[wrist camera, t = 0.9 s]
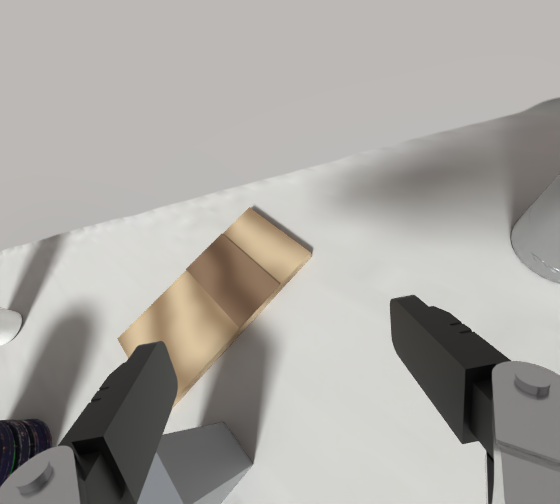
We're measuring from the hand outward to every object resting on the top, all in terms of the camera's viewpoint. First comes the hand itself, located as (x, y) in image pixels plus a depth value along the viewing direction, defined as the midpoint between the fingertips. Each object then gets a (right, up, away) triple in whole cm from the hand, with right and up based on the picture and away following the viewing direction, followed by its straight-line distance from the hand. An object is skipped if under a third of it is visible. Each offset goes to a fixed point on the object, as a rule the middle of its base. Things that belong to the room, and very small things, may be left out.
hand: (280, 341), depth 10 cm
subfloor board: (-9, -3, +27) cm, 28 cm away
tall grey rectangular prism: (-6, -18, +18) cm, 27 cm away
